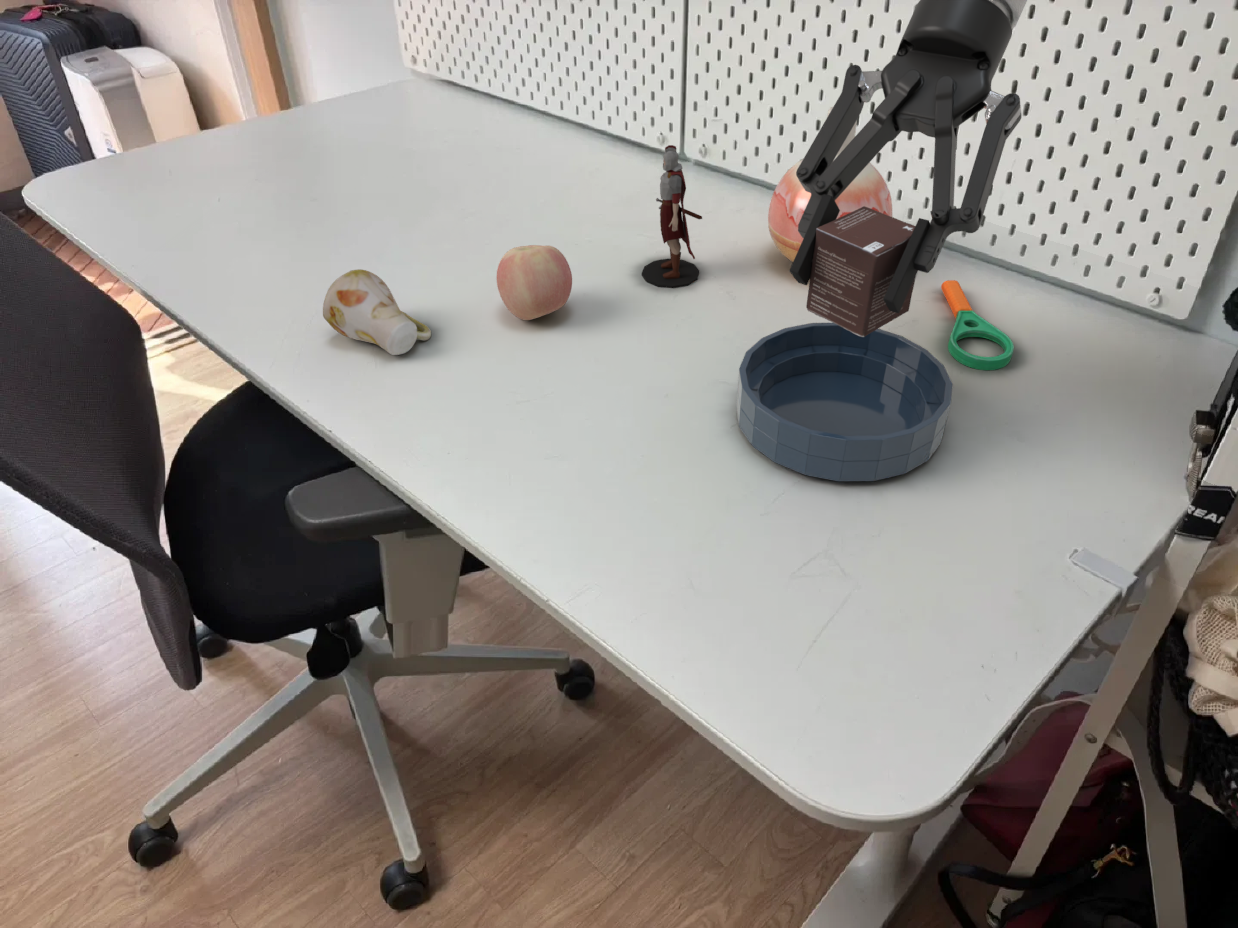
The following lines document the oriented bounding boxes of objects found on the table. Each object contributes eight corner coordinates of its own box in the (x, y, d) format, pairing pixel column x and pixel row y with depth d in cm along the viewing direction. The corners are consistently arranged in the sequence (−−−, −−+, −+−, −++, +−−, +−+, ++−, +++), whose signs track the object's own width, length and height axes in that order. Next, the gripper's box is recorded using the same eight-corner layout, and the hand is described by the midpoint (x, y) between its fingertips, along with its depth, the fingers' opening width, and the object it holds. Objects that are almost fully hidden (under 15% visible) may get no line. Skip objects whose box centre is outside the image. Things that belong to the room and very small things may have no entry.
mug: (393, 376, 93) (329, 293, 88) (360, 375, 101) (300, 298, 96) (447, 331, 95) (388, 248, 91) (411, 333, 103) (356, 257, 99)
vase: (748, 278, 106) (759, 122, 95) (784, 229, 116) (798, 82, 105) (867, 301, 102) (894, 140, 90) (895, 248, 111) (922, 97, 100)
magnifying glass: (1020, 370, 91) (1024, 355, 90) (957, 371, 91) (961, 356, 90) (975, 293, 103) (979, 279, 101) (920, 294, 103) (923, 280, 102)
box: (852, 286, 79) (864, 204, 75) (910, 313, 76) (928, 229, 71) (803, 310, 76) (813, 227, 72) (862, 340, 73) (877, 254, 68)
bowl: (970, 406, 86) (983, 361, 83) (889, 516, 75) (900, 468, 72) (795, 346, 95) (800, 303, 92) (699, 437, 84) (700, 391, 81)
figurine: (639, 261, 110) (638, 134, 100) (700, 258, 110) (705, 132, 101) (644, 289, 105) (643, 158, 95) (708, 286, 105) (714, 155, 95)
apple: (582, 301, 103) (578, 234, 98) (561, 337, 97) (556, 268, 92) (513, 294, 105) (507, 227, 99) (490, 329, 99) (481, 260, 94)
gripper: (1101, 64, 70) (976, 345, 70) (855, 25, 79) (745, 274, 80) (1104, 3, 63) (965, 314, 64) (834, -32, 72) (715, 240, 73)
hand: (843, 291), depth 72 cm, fingers closed on box, 7 cm apart
